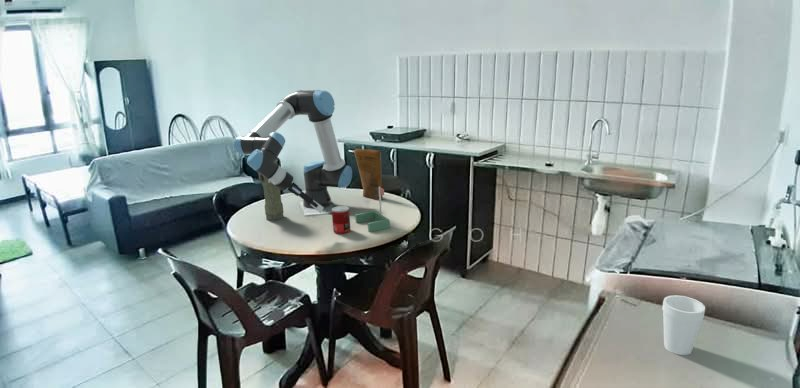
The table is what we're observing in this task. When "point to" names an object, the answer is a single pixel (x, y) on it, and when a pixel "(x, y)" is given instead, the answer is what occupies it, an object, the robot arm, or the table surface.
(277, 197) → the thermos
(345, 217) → the canned food
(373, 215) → the green c-shaped bracket
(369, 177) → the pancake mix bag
